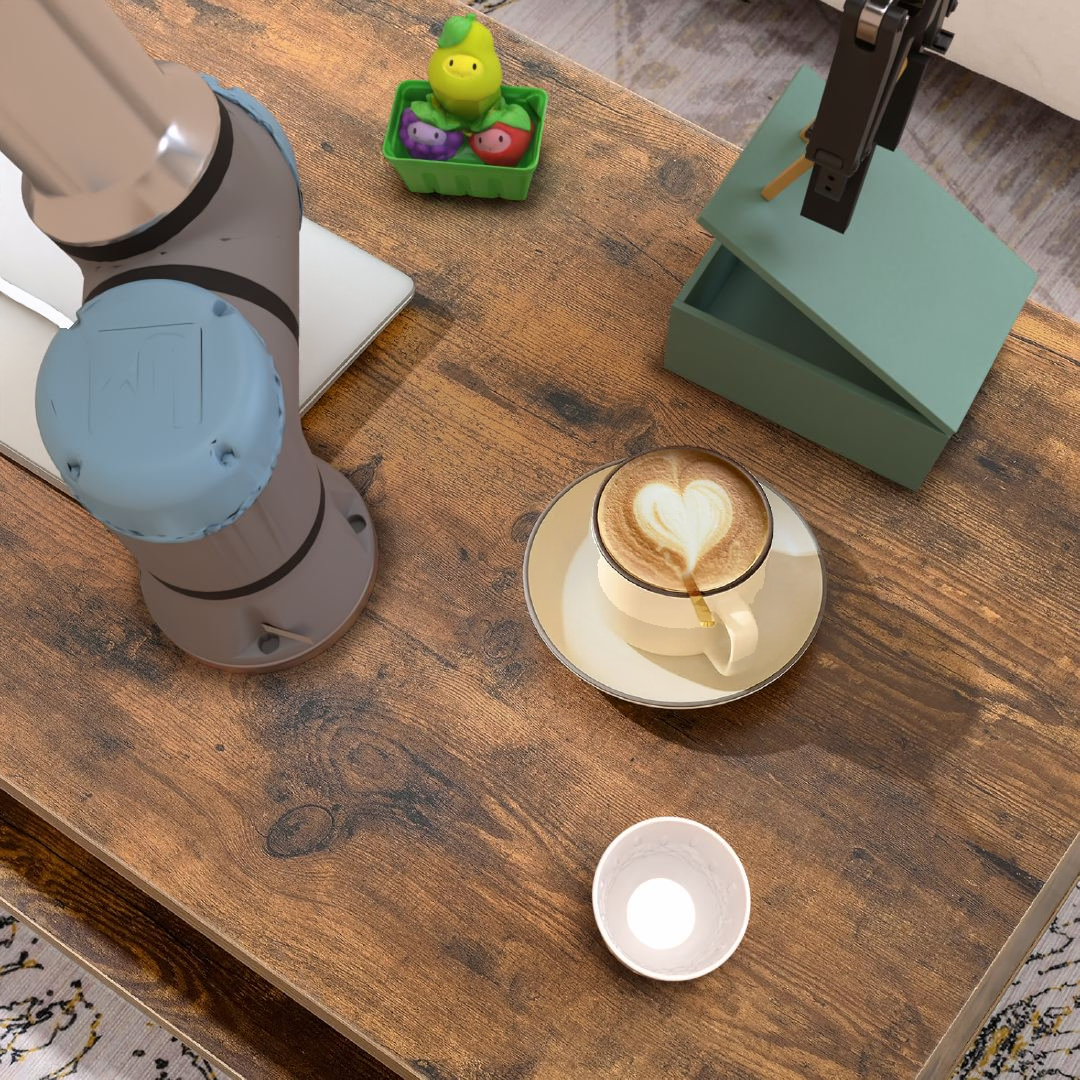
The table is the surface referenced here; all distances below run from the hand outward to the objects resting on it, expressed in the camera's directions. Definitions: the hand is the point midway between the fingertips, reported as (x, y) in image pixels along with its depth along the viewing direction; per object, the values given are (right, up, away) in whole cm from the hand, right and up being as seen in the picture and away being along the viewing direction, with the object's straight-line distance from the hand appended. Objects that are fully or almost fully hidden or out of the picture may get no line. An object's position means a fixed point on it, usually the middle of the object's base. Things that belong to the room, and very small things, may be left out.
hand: (850, 178), depth 66 cm
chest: (+2, -8, +15) cm, 17 cm away
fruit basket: (-23, +8, +23) cm, 33 cm away
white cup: (-11, -42, +1) cm, 44 cm away
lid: (+2, -3, +4) cm, 6 cm away
